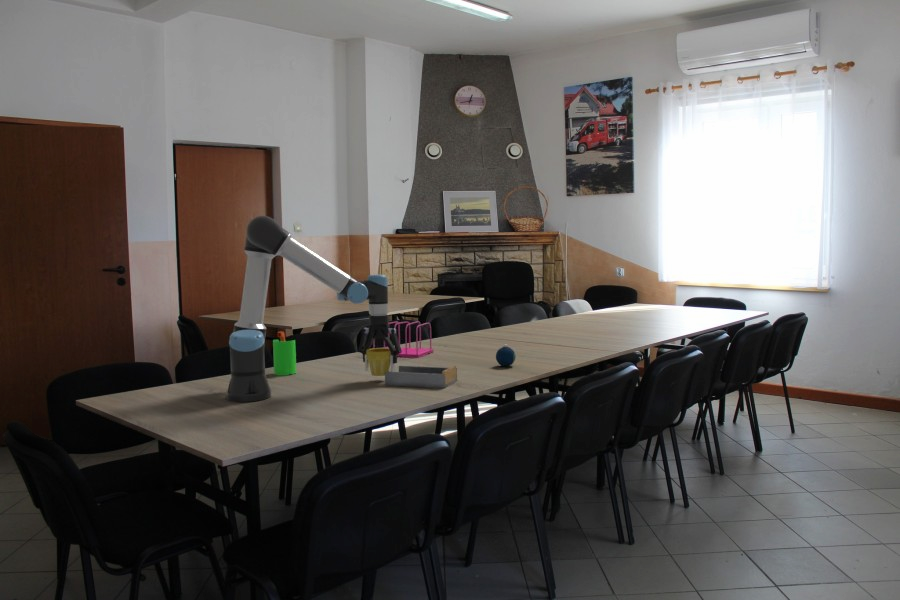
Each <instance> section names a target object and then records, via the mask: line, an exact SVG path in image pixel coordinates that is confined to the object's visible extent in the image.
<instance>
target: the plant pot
mask: <svg viewBox="0 0 900 600" xmlns="http://www.w3.org/2000/svg"><path fill="white" fill-rule="evenodd" d="M391 355H392V353H391V351H390V350H389V348H386V347H385V348H384V347H376V348H373V347H372V348H370V349H368V350H367V351H366V356H367V359H368V361H369V365H370V370H369V371H370V374H371V376H373V377H383V376H384V377H385V372H386V371H387V372H390V370H391V360H390V356H391Z"/></svg>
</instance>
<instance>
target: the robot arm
mask: <svg viewBox="0 0 900 600" xmlns="http://www.w3.org/2000/svg"><path fill="white" fill-rule="evenodd" d="M245 235H246V236H245V243H244V249H243V251H244V253H245V254H246V255H247V259H246V267H245V276H244V282H243V290H242V297H241V304H240V312H239V313H240V314H239V319H238V321H236V322H235V323H234V326H233V331H232V333H231V334H230V336H229V340H228V344H229V358H230V360H229V361H230V380H229V384H228V387H227V391H226V400H227V401H230V402H234V403H236V402H239V403H246V402H255V401H256V402H257V401H263V400H266V399H269V398H271V397H272V389H271V387H270V383H269V380H268V379H267V376H266V366H265V365H266V361H265V358H266V357H265V344H266V343H265V342H266V341H265V340H266V334H267V326H265V324H264V318H265V311H266V305H267V296H268V287H269V283H270V282H269V281H270V275H271V268H272V260H273V259H274V258H275V257H276V256H280V257H281V258H284V259H285V260H287V261H288V262H290V263H291V264H293V265H294V266H296V267H297V268H299V269H300V270H302V271H303V272H305V273H307V274H308V275H309V276H311V277H312V278H315V279H316V280H318V281H319V282H320V283H322V284H324V285H326V286H327V287H329V288H330V289H331V290H333V291H335V292H336V297H337V300H338V301H339V302H341V301H343V302H347V301H348V302H351V303H353V304H355V305H357V304H358V305H359V304H363V303H364V302H365V301H367V300H368V314H369V316H368V322H369V323H368V324H369V326H368V327H363V328H362V329H361V336H360V337H361V338H360V341H359V345H358V349H357V352H358V353H361V354H362V361H363V363H364V371H365V372H369V371H371V370H370V365H369V361H368V359H367V356H366V351H367V350H368V349H371V346H372V345H373V341H374V340H375V341H376V339H379V340H380V339H381V340H383V342H384V341H385V345H386V346H387V347H388V348H389V350H390V351H391V353H392V355H391V356H390V360H391V363H390V372H396V364H397V363H398V357H397V355H398V354H399V353H401V352H402V350H401V343H400V344H399V336H398V334H397V333H398V331H397V330H398V329H397V327H396V328H390V324H389V323H390V322H389V315H388V314H389V296H388V295H389V288H388V287H389V286H388V285H389V284H388V277H387V275H386V274H369V275H367V279H365V280H356V279H355V278H354V277H352V276H351V275H349V274H348V273H347V272H345V271H343V270H341V269H340V268H339V267H338V266H335V265H334V264H332V263H331V262H329V261H328V260H326V259H325V258H324V257H321V256H320V255H319V254H317V253H316V252H314V251H313V250H311V249H310V248H308V247H306V246H305V245H303V244H302V243H300V242H299V241H298V240H297V239H294V238H293V236H292V235H291V233H290V232H289V231H288V230H286V229H285V228H284V227H282V226H281V225H280V224H279V223H278V222H277V221H276V220H275V219H273V218H272V217H271V216H267V215H258V216H256V217H253V218H252V219H251V220H250V221H249V223H248V224H247V227H246V234H245ZM388 325H389V326H388ZM388 332H389V333H390V337H391V339H392V340H391V339H390V337H389V336H388ZM368 334H370V336H369V338H368ZM367 338H368V341H367Z"/></svg>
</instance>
